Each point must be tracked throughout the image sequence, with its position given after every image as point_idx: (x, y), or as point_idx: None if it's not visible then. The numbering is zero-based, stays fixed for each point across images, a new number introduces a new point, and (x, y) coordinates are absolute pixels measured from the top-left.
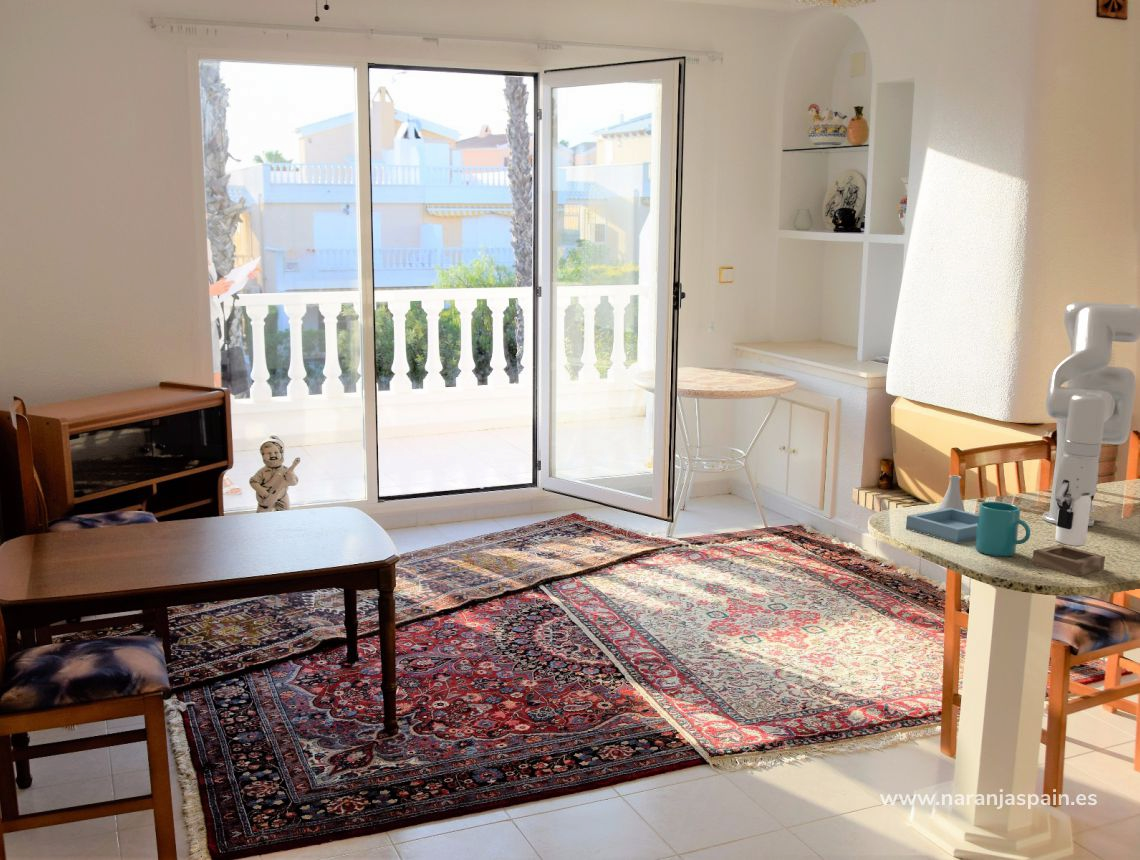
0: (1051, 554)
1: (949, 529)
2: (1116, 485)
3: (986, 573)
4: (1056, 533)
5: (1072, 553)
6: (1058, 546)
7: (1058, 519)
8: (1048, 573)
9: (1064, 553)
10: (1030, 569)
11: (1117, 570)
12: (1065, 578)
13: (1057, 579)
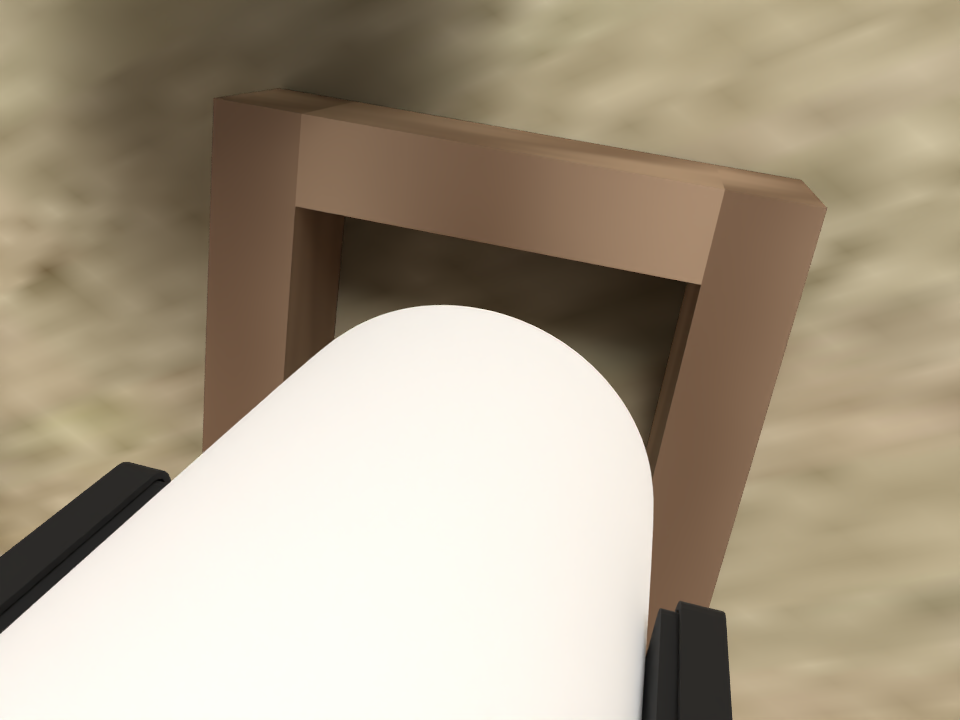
0: (250, 307)
1: None
2: None
3: None
4: (296, 372)
5: (667, 395)
6: (689, 237)
7: (50, 531)
8: (116, 329)
9: (689, 297)
10: (79, 168)
11: (735, 714)
12: None
13: (34, 435)
